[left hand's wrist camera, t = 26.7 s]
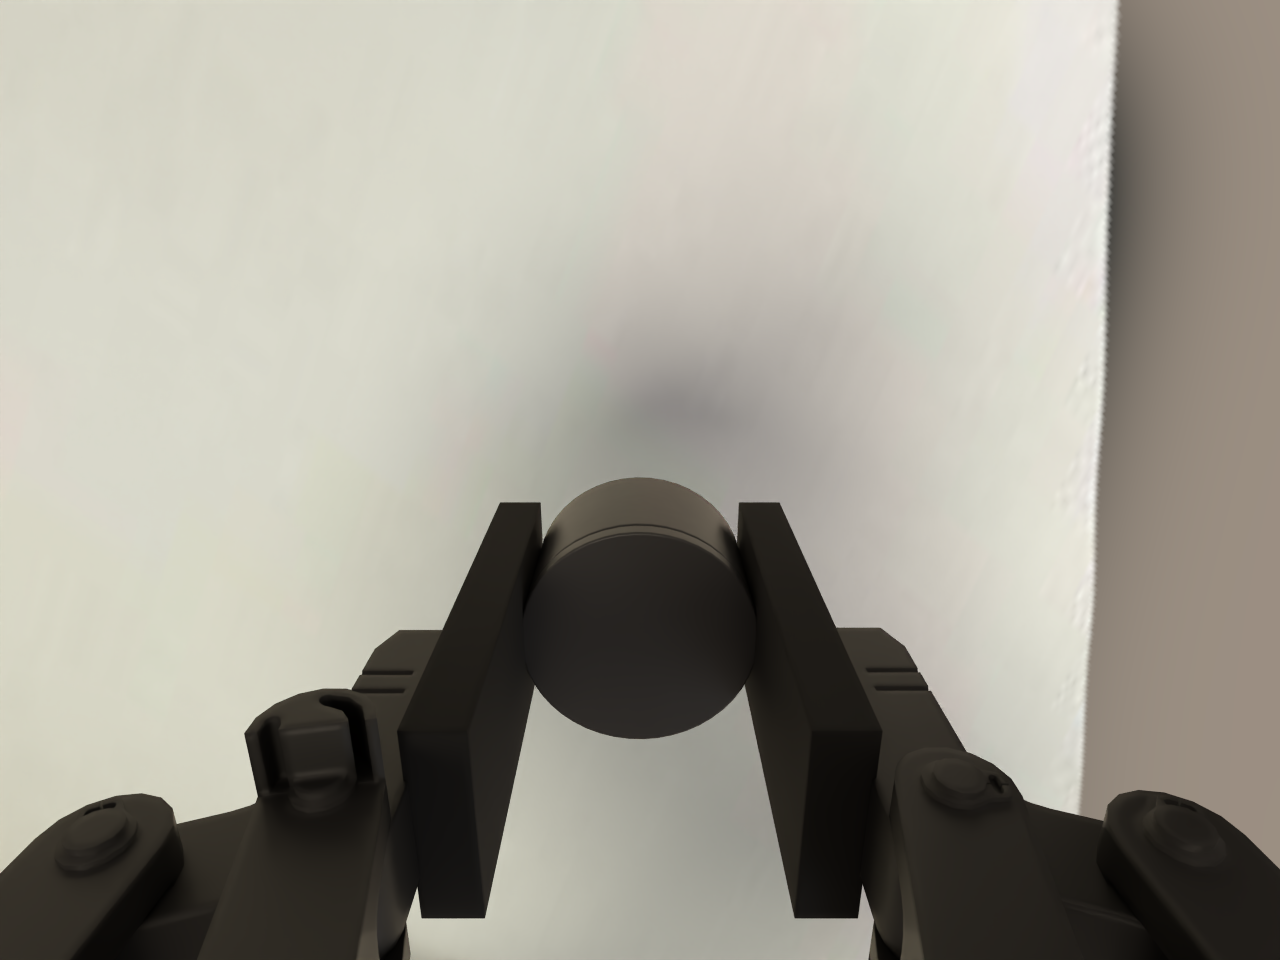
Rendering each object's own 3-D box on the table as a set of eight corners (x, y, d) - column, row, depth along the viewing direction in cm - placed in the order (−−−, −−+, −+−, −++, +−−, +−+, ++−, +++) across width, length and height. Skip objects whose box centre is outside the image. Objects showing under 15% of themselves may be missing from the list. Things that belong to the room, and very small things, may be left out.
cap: (781, 549, 14) (808, 617, 12) (661, 688, 16) (665, 776, 13) (614, 436, 14) (609, 486, 11) (501, 591, 15) (474, 665, 12)
